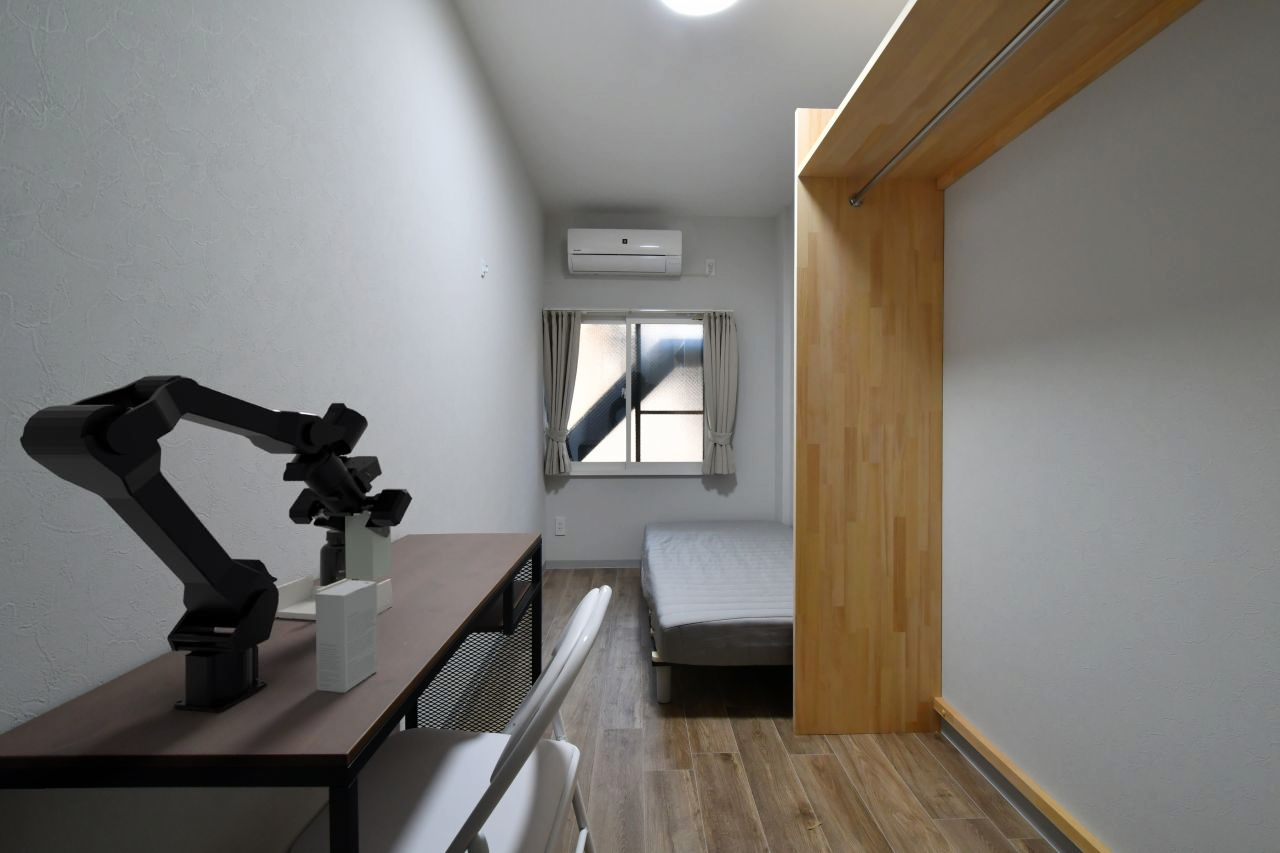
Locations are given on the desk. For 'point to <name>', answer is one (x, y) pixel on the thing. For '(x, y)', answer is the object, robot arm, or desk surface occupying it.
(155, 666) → the desk surface
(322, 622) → the skincare box
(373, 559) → the sage ceramic block
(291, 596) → the tray
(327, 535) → the supplement bottle
